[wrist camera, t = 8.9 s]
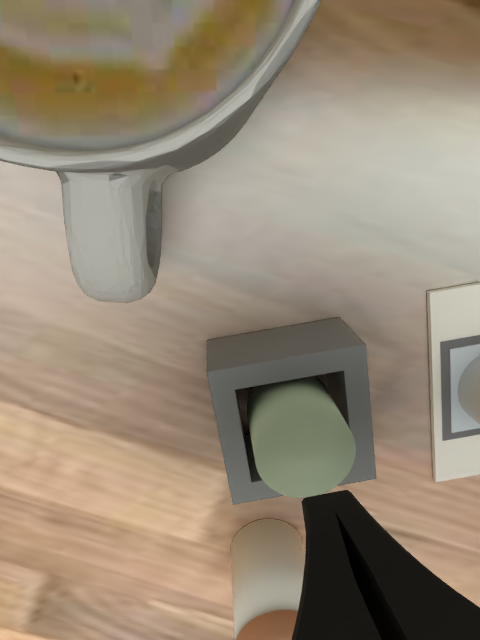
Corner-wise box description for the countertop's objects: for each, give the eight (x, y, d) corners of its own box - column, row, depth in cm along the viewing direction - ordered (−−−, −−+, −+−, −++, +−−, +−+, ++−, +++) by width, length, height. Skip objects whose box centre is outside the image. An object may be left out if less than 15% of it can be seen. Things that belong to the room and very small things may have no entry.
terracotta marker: (306, 571, 24) (342, 719, 18) (235, 583, 24) (244, 736, 18) (299, 512, 23) (334, 646, 16) (224, 524, 23) (228, 664, 16)
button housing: (350, 433, 22) (376, 478, 19) (229, 455, 22) (232, 504, 19) (339, 317, 20) (365, 344, 17) (206, 340, 20) (206, 372, 17)
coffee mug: (3, -182, 14) (-396, -891, 5) (301, -89, 16) (449, -507, 6) (-20, 234, 18) (-271, 294, 9) (224, 281, 19) (241, 380, 10)
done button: (334, 436, 20) (359, 488, 17) (253, 450, 20) (262, 505, 16) (325, 361, 19) (351, 401, 15) (240, 376, 19) (247, 419, 15)
